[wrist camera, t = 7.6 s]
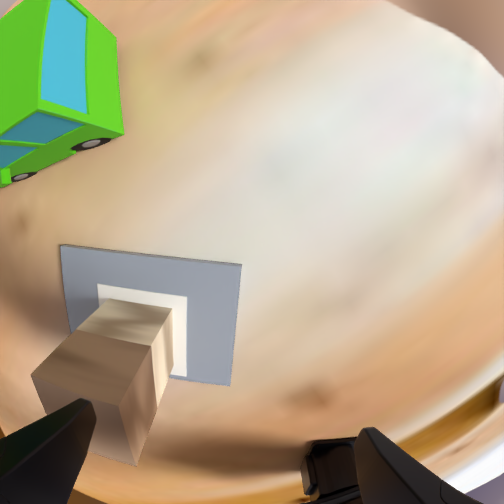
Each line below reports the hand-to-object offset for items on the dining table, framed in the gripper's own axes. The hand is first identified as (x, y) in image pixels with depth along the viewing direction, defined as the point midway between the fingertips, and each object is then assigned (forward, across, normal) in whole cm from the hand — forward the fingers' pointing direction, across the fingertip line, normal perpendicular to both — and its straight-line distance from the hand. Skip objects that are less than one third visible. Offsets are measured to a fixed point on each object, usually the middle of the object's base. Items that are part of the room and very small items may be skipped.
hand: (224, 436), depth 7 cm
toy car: (+13, +16, -12) cm, 24 cm away
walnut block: (+7, +7, +4) cm, 10 cm away
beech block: (+12, +7, +4) cm, 14 cm away
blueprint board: (+12, +7, +3) cm, 15 cm away
